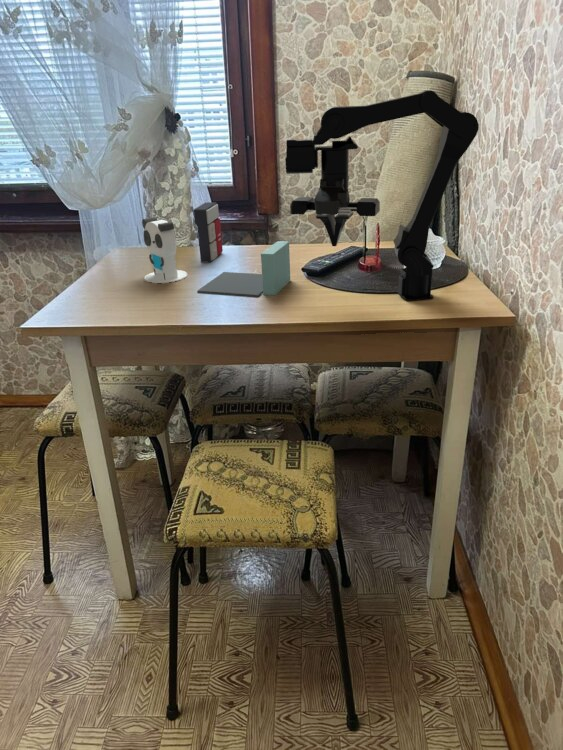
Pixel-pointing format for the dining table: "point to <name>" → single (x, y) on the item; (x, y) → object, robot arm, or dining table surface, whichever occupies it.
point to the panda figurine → (161, 251)
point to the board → (275, 267)
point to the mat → (235, 284)
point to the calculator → (208, 231)
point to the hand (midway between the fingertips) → (334, 245)
